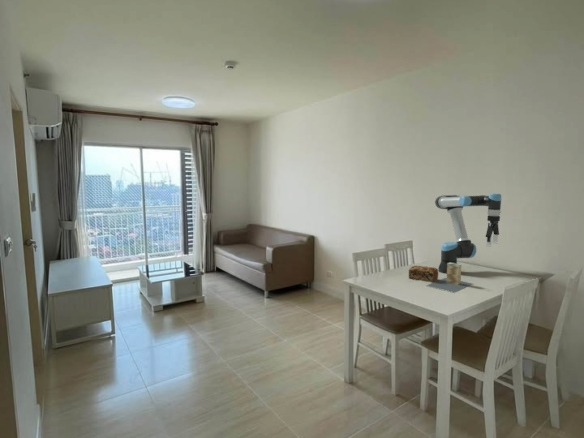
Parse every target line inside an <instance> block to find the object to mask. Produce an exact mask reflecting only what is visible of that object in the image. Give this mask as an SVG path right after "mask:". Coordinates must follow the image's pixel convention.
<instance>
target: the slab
mask: <svg viewBox="0 0 584 438" xmlns="http://www.w3.org/2000/svg"><path fill="white" fill-rule="evenodd" d="M446 278H447V283H451V284H455V285H459V284H461V281H462V264H461V263H457V264H456V263H447V273H446Z"/></svg>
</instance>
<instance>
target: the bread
mask: <svg viewBox="0 0 584 438" xmlns="http://www.w3.org/2000/svg"><path fill="white" fill-rule="evenodd" d="M409 279H410V280H415V281H423V282H428V283H434V282H436V281H438V279H439V271H438V268H436V267H431V266H423V265H422V266H421V265H412V266H411V267H409V269H408V280H409Z"/></svg>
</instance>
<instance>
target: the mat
mask: <svg viewBox="0 0 584 438" xmlns="http://www.w3.org/2000/svg"><path fill="white" fill-rule="evenodd" d="M425 286H426V287H428V288H433V289H437V290H441V291H444V292H447V293H449V292H450V293H452V294H454V293H457V292H460V291H461V290H463V289H464V290H465V289H466V288H468V287H470V286H473V283H471V282H468V281H463V280H461V284H459V285H455V284H451V283H447V277H444V278H442V279H440V280H436V281H434V282H430V283H429V284H427V285H425Z"/></svg>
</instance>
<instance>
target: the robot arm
mask: <svg viewBox="0 0 584 438" xmlns="http://www.w3.org/2000/svg"><path fill="white" fill-rule="evenodd" d="M434 204H435V206H436V207H437V208H438V209H440V210H447V213H448V214H449V215H450V219H451V222H452V227H453V231H454V235H455V239H456V241H447V242H444V243H442V244H441V247H440V249H441V251H440V252H441V254H440V263H439V265H438V268H437V269H438V273H442V274H447V263H456V264H458V259H472V258H474V257H475V256H476V253H477V247H476V245H475V244H474V243H472V241H471V239H469V236H468V233H467V229H466V225H465V222H464V221H465V220H464V217H463V212H462V211H463V210H464V209H463V208H464V207H488V208H487V222H488V223H487V229H486V233H485V238H486V244H485V245H486V247H492V244H495V245H496V244H498V237H499V235H500V230H499V222H500V221H501V214H502V211H501V207H502V194H501V193H489V194H488V195H484V194H483V195H462V196H461V195H457V194H451V195H448V194H447V195H445V194H444V195H443V194H442V195H439V196H438V197H436V198H435V201H434Z"/></svg>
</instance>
